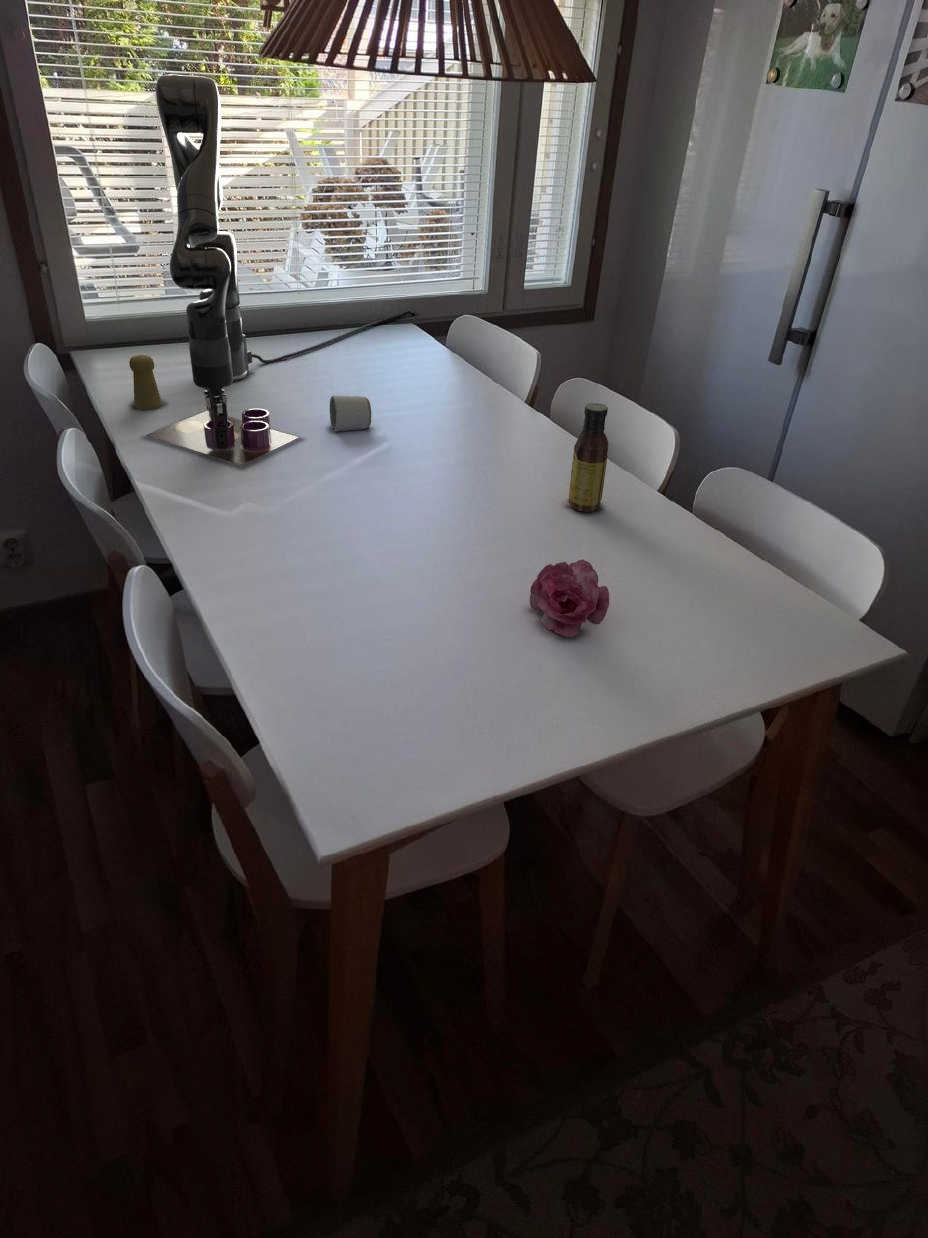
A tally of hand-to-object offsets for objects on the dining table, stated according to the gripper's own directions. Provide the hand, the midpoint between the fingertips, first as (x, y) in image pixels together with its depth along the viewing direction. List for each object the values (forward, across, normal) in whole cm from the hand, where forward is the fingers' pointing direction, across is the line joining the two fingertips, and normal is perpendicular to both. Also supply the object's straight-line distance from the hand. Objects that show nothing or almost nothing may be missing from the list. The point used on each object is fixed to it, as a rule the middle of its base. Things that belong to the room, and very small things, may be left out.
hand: (220, 441), depth 173 cm
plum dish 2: (+2, +7, -8) cm, 11 cm away
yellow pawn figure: (+3, +31, +12) cm, 33 cm away
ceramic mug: (+3, +7, -28) cm, 29 cm away
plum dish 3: (+2, 0, -7) cm, 7 cm away
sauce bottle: (+2, -42, -62) cm, 74 cm away
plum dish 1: (+1, 0, 0) cm, 1 cm away
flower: (+2, -76, -41) cm, 87 cm away
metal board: (+2, +7, -1) cm, 7 cm away
